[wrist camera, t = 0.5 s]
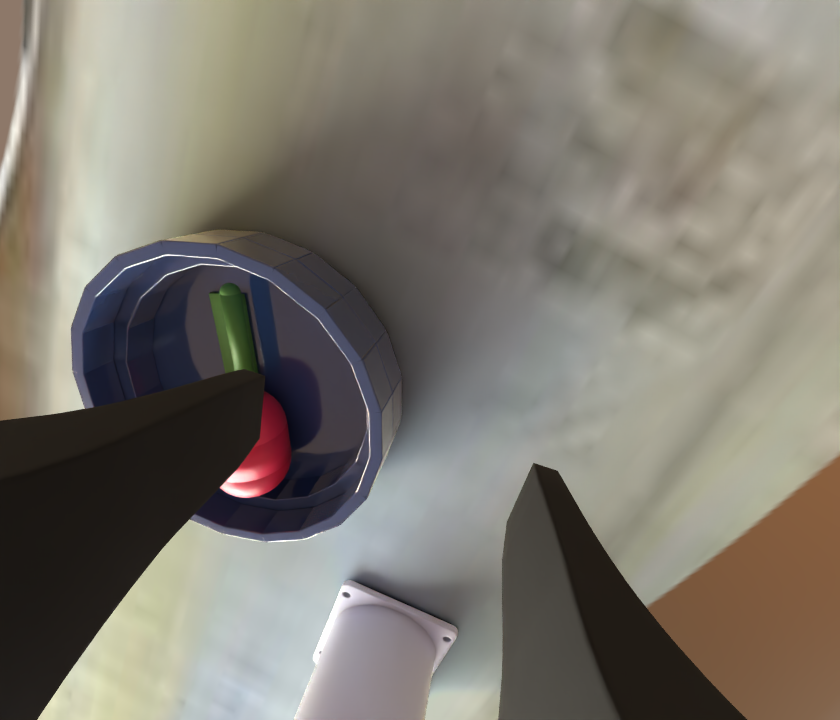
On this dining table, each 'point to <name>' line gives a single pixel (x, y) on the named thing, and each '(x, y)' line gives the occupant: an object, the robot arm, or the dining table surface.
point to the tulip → (274, 445)
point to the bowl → (275, 356)
